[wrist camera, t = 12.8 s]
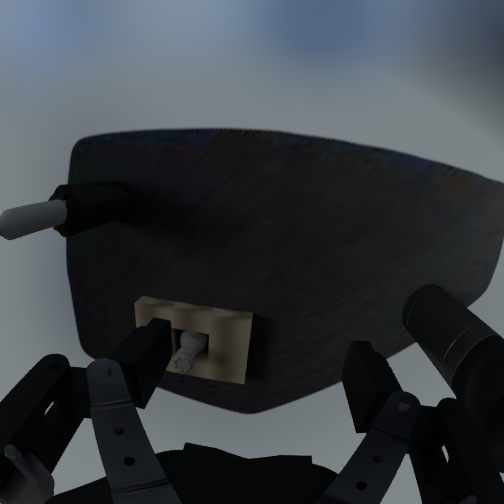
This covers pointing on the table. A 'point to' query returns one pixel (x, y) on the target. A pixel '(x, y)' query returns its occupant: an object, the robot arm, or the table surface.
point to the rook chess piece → (189, 349)
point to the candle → (68, 210)
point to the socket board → (209, 322)
